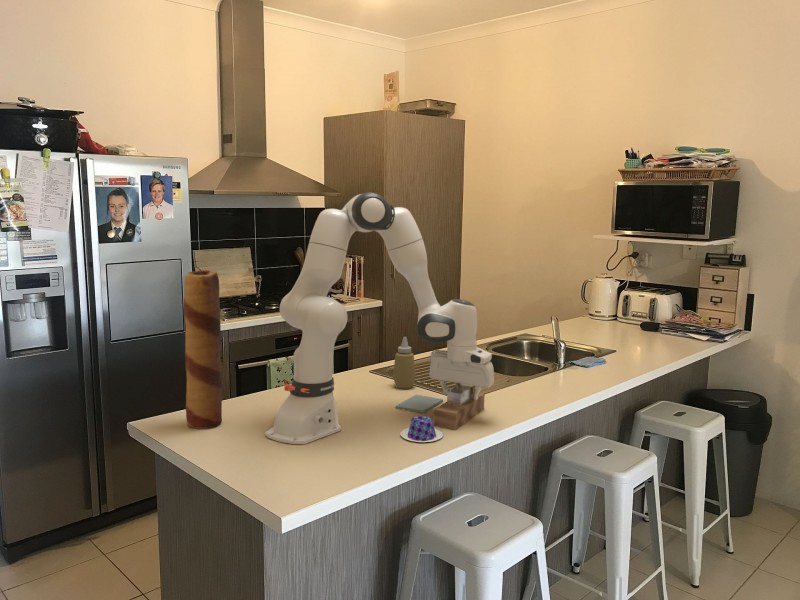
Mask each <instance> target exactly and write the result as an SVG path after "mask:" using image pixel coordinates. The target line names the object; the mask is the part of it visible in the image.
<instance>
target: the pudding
mask: <svg viewBox="0 0 800 600" xmlns="http://www.w3.org/2000/svg"><path fill="white" fill-rule="evenodd" d="M436 435H437V437H436ZM400 436H401V437H402V438H403V439H405V440H408V441H411V442H416V443H429V442H434V441H439V440H440V439H442V438H443V436H444V435H443V432H442V431H440V429H437V428H435V426H434V420H433V419H432V418H431V417H429V416H425V415H421V416H420V415H418V416H414V417H412V418H411V420H410V423H409V427H408V428H407V427H406V428H405V429H402V431H400Z"/></svg>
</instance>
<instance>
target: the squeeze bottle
mask: <svg viewBox="0 0 800 600" xmlns="http://www.w3.org/2000/svg"><path fill="white" fill-rule="evenodd" d="M392 378H393V382H394V385H395V388H397V389H403V390H405V389H407V390H408V389H412V388H413V386H414V383H415V381H416V378H417V377H416V366H415V355H414V353H413V352H412V347H411V346H409V342H408V338H407V336H403V337H402V341H401V345H400V346H398V347H397V352H396V353H395V357H394V363H393V373H392Z"/></svg>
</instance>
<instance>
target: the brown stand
mask: <svg viewBox="0 0 800 600" xmlns="http://www.w3.org/2000/svg"><path fill="white" fill-rule="evenodd" d="M459 384H460V383H455V387H456V386H458V385H459ZM476 391H477V389H475V386H473V393H475V392H476ZM485 397H486V396H485V393H482V392H481V393H480V392H479V393H478V399H477V400H473V399H471V400H470V401H468V402H467V403H466V404H464V405H463V406H461V407H458V406H452V405H447V401H445V402H444V403H441V404H439V405H438V407H436V408H434V409H433V410H434V411H433V414H434V416H433V424H434V427H439V428H444V429H450V430H454V431H457V430H458V429H459V428H461V427H462V426H464V424H466V423H467V422H469V420H471V419H473V418H474V417H475V416H476V415H478V414H479V413H481V412H482V411H483V410H485Z"/></svg>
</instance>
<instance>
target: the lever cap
mask: <svg viewBox="0 0 800 600" xmlns="http://www.w3.org/2000/svg"><path fill="white" fill-rule="evenodd" d="M472 394H473V385H466V384H459V385H458V386H456V385H455V386H454V387H453V388H450V390H449V391H448V392H447V395H446V402H447V405H452V406H458V407H461V406H463V405H464V404H466V403H467V402H468V401H470V400H471V399H472Z"/></svg>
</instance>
